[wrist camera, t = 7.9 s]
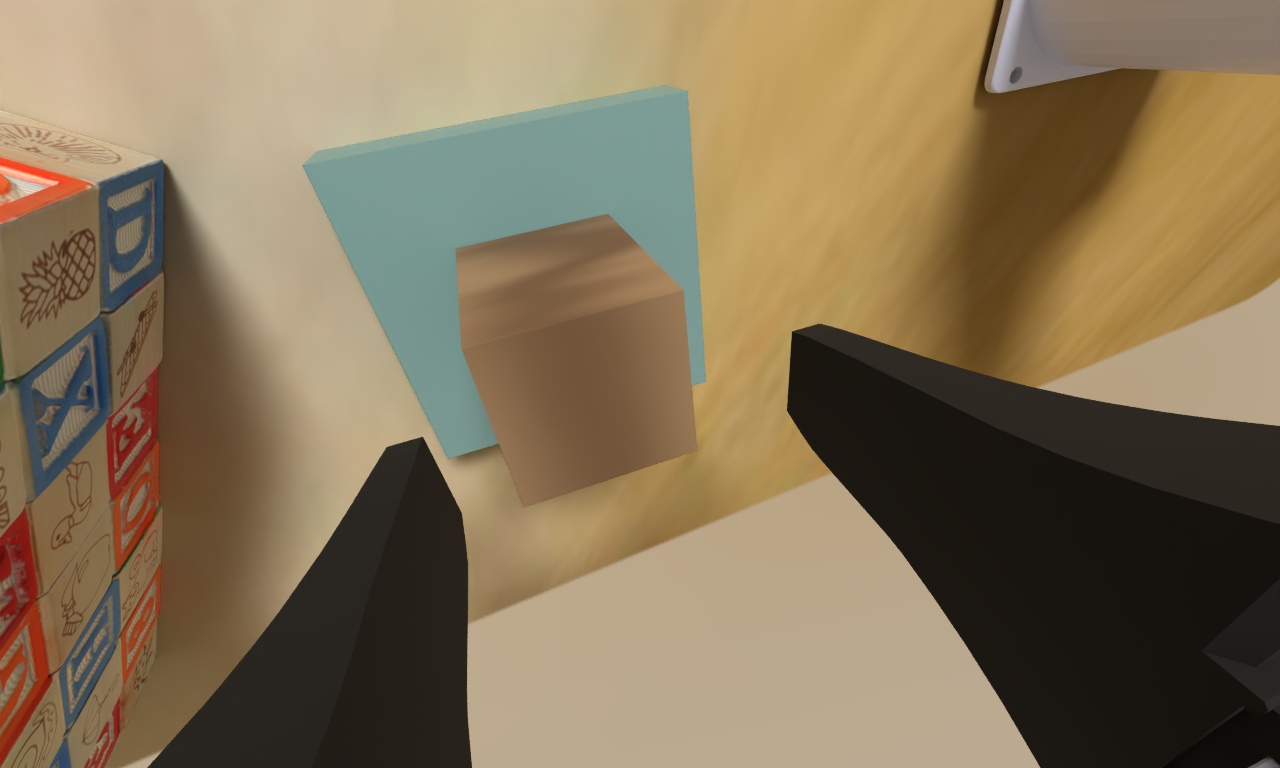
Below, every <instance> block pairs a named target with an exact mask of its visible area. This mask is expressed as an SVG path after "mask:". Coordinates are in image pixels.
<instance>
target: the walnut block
mask: <svg viewBox="0 0 1280 768" xmlns="http://www.w3.org/2000/svg"><path fill="white" fill-rule="evenodd" d="M456 265H457V282H458V299H459V316H460V333H461V349H462V352H463V354H464V357H465V359H466V362H467V364H468V367H469V370H470V372H471V375H472V377H473V380H474V382H475V385H476V387H477V390H478V392H479V395H480V397H481V400H482V403H483V405H484V408H485V410H486V413H487V415H488V418H489V420H490V423H491V425H492V428H493V430H494V433H495V436H496V438H497V441H498V443H499V446H500V448H501V451H502V453H503V456H504V458H505V461H506V463H507V466H508V469H509V471H510V474H511V476H512V479H513V481H514V484H515V486H516V489H517V491H518V494H519V496H520V499H521V502H522V504H523V507H527V506H530V505H533V504H536V503H539V502H542V501H545V500H548V499H551V498H554V497H557V496H560V495H564V494H567V493H570V492H573V491H576V490H579V489H582V488H585V487H588V486H591V485H594V484H597V483H600V482H603V481H606V480H609V479H612V478H615V477H618V476H621V475H624V474H627V473H630V472H634V471H637V470H640V469H643V468H646V467H649V466H652V465H655V464H658V463H661V462H664V461H667V460H670V459H673V458H676V457H679V456H682V455H685V454H688V453H691V452H694V451H697V441H696V430H695V418H694V406H693V394H692V383H691V371H690V359H689V347H688V335H687V324H686V312H685V300H684V290H683V289H682V288H681V287H680V286H679V285H678V284H677V283H676V282H675V281H674V280H673V279H672V278H671V277H670V276H669V275H668V274H667V273H666V272H665V271H664V270H663V269H662V268H661V267H660V266H659V265H658V264H657V263H656V262H655V261H654V260H653V259H652V258H651V257H650V256H649V255H648V254H647V253H646V251H645V250H644V249H643V248H642V247H641V246H640V245H639V244H638V243H637V242H636V241H635V240H634V239H633V238H632V237H631V236H630V235H629V234H628V233H627V232H626V231H625V230H624V229H623V228H622V227H621V226H620V225H619V224H618V223H617V222H616V221H615V220H614V219H613V218H612V217H611V216H610V215H609V214H604V215H600V216H595V217H591V218H587V219H582V220H578V221H574V222H569V223H565V224H561V225H556V226H552V227H547V228H543V229H539V230H534V231H530V232H526V233H521V234H517V235H513V236H508V237H504V238H500V239H495V240H491V241H487V242H482V243H478V244H474V245H469V246H465V247H460V248H456Z"/></svg>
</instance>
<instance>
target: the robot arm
mask: <svg viewBox="0 0 1280 768" xmlns="http://www.w3.org/2000/svg"><path fill="white" fill-rule="evenodd" d="M1120 68H1129V69H1152V70H1176V71H1199V72H1223V73H1246V74H1269V75H1280V0H1004V3H1003V7H1002V11H1001V15H1000V19H999V23H998V27H997V32H996V36H995V40H994V44H993V48H992V52H991V56H990V60H989V64H988V69H987V73H986V77H985V83H984V86H985V89H986V91H987V92H989V93H1004V92H1009V91H1013V90H1018V89H1023V88H1028V87H1033V86H1038V85H1042V84H1047V83H1052V82H1057V81H1062V80H1067V79H1071V78H1076V77H1081V76H1086V75H1091V74H1096V73H1100V72H1105V71H1110V70H1115V69H1120ZM1012 71H1013V74H1012V76H1011V73H1012ZM1010 76H1011V78H1010ZM787 411H788V413H789V415H790V416H791V418H792V419H793V421H794V423H795V424H796V426H797V427H798V429H799V431H800V432H801V434H802V435H803V437H804V438H805V439H806V441H807V442H808V444H809V445H810V447H811V448H812V450H813V451H814V452H815V453H816V454H817V456H818V457H819V458H820V459H821V460H822V461H823V463H824V464H825V465H826V466H827V467H828V468H829V469H830V471H831V472H832V473H833V474H834V475H835V476H836V477H837V479H838V480H839V481H840V482H841V483H842V484H843V485H844V486H845V488H846V489H847V490H848V491H849V492H850V493H851V494H852V496H853V497H854V498H855V499H856V500H857V501H858V502H859V503H860V504H861V506H862V507H863V508H864V509H865V510H866V511H867V513H868V514H869V515H870V516H871V517H872V518H873V519H874V520H875V522H877V524H878V525H879V526H880V527H881V528H882V529H883V531H884V532H885V533H886V534H887V535H888V536H889V537H890V539H891V540H892V541H893V543H894V544H895V545H896V546H897V548H898V549H899V550H900V551H901V553H902V554H903V555H904V557H905V558H906V559H907V561H908V562H909V563H910V565H911V566H912V568H913V569H914V571H915V572H916V573H917V575H918V576H919V578H920V579H921V580H922V582H923V583H924V584H925V586H926V587H927V589H928V590H929V591H930V593H931V594H932V596H933V597H934V599H935V600H936V601H937V603H938V604H939V606H940V607H941V609H942V610H943V612H944V613H945V615H946V616H947V618H948V619H949V621H950V622H951V624H952V625H953V627H954V628H955V630H956V631H957V632H958V634H959V635H960V637H961V638H962V640H963V641H964V643H965V644H966V646H967V647H968V649H969V651H970V652H971V654H972V655H973V657H974V659H975V660H976V661H977V663H978V665H979V666H980V668H981V670H982V671H983V673H984V674H985V676H986V677H987V679H988V681H989V682H990V684H991V685H992V687H993V689H994V690H995V691H996V693H997V695H998V696H999V698H1000V700H1001V701H1002V703H1003V705H1004V706H1005V708H1006V710H1007V711H1008V713H1009V715H1010V716H1011V718H1012V720H1013V721H1014V723H1015V725H1016V727H1017V728H1018V730H1019V732H1020V734H1021V735H1022V737H1023V739H1024V740H1025V742H1026V744H1027V745H1028V747H1029V749H1030V750H1031V752H1032V754H1033V755H1034V757H1035V759H1036V761H1037V762H1038V764H1039V766H1040V768H1280V426H1274V425H1264V424H1256V423H1247V422H1238V421H1229V420H1220V419H1211V418H1203V417H1195V416H1189V415H1181V414H1174V413H1166V412H1160V411H1154V410H1148V409H1141V408H1136V407H1130V406H1123V405H1117V404H1111V403H1106V402H1100V401H1095V400H1090V399H1084V398H1079V397H1074V396H1070V395H1065V394H1061V393H1056V392H1051V391H1047V390H1043V389H1038V388H1034V387H1029V386H1025V385H1021V384H1017V383H1013V382H1009V381H1005V380H1001V379H998V378H994V377H990V376H987V375H983V374H980V373H976V372H973V371H969V370H966V369H962V368H959V367H955V366H952V365H949V364H946V363H942V362H939V361H936V360H933V359H930V358H927V357H923V356H920V355H917V354H914V353H911V352H908V351H905V350H902V349H899V348H896V347H893V346H890V345H887V344H884V343H881V342H878V341H875V340H872V339H869V338H866V337H863V336H860V335H857V334H854V333H851V332H848V331H845V330H841V329H838V328H834V327H831V326H827V325H823V324H817V325H813V326H810V327H806V328H803V329H799V330H796V331H792V341H791V357H790V372H789V388H788V404H787ZM467 629H468V560H467V551H466V542H465V534H464V527H463V519H462V513H461V511H460V509H459V507H458V505H457V503H456V501H455V499H454V497H453V495H452V493H451V491H450V489H449V487H448V485H447V483H446V481H445V479H444V477H443V475H442V473H441V471H440V469H439V468H438V466H437V464H436V462H435V460H434V458H433V456H432V454H431V452H430V450H429V448H428V446H427V444H426V442H425V440H424V438H423V437H420V438H417V439H413V440H410V441H406V442H403V443H399V444H396V445H392V446H389V447H387V448H386V449H385V451H384V453H383V454H382V456H381V457H380V459H379V460H378V462H377V464H376V465H375V467H374V469H373V470H372V472H371V473H370V475H369V477H368V478H367V480H366V482H365V483H364V485H363V486H362V488H361V490H360V491H359V493H358V495H357V496H356V498H355V500H354V501H353V503H352V504H351V506H350V508H349V509H348V511H347V513H346V514H345V516H344V517H343V519H342V520H341V522H340V524H339V525H338V527H337V528H336V530H335V531H334V533H333V535H332V536H331V538H330V539H329V541H328V542H327V544H326V545H325V547H324V549H323V550H322V552H321V553H320V555H319V556H318V557H317V559H316V560H315V562H314V563H313V565H312V566H311V567H310V569H309V570H308V572H307V573H306V574H305V576H304V577H303V579H302V580H301V582H300V583H299V584H298V586H297V587H296V589H295V590H294V592H293V593H292V594H291V596H290V597H289V599H288V600H287V602H286V603H285V604H284V606H283V607H282V609H281V610H280V611H279V613H278V614H277V615H276V617H275V618H274V619H273V621H272V622H271V623H270V625H269V626H268V627H267V629H266V630H265V631H264V632H263V634H262V635H261V636H260V638H259V639H258V640H257V641H256V643H255V644H254V645H253V647H252V648H251V649H250V650H249V651H248V653H247V654H246V655H245V656H244V658H243V659H242V660H241V661H240V662H239V664H238V665H237V666H236V667H235V669H234V670H233V671H232V672H231V673H230V675H229V676H228V677H227V678H226V680H225V681H224V682H223V683H222V684H221V686H220V687H219V688H218V689H217V690H216V692H215V693H214V694H213V695H212V696H211V697H210V699H209V700H208V701H207V702H206V703H205V704H204V706H203V707H202V708H201V709H200V710H199V711H198V712H197V713H196V714H195V716H194V717H193V718H192V719H191V720H190V721H189V722H188V723H187V724H186V726H185V727H184V728H183V729H182V730H181V731H180V732H179V733H178V734H177V735H176V737H175V738H174V739H173V740H172V741H171V742H170V743H169V744H168V745H167V747H166V748H165V749H164V750H163V751H162V752H161V753H160V754H159V755H158V757H157V758H156V759H155V760H154V761H153V762H152V763H151V765H150V766H149V767H148V768H472V762H471V752H470V740H469V728H468V712H467V633H468V631H467Z"/></svg>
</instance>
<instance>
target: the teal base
mask: <svg viewBox="0 0 1280 768" xmlns="http://www.w3.org/2000/svg"><path fill="white" fill-rule="evenodd" d="M302 166H303V168H304V170H305V172H306V174H307V176H308V178H309V180H310V182H311V184H312V186H313V188H314V190H315V192H316V194H317V196H318V198H319V200H320V202H321V204H322V206H323V208H324V210H325V212H326V214H327V216H328V218H329V221H330V223H331V225H332V227H333V229H334V231H335V233H336V235H337V237H338V239H339V241H340V243H341V245H342V247H343V249H344V251H345V253H346V255H347V257H348V259H349V261H350V263H351V265H352V267H353V269H354V271H355V273H356V275H357V277H358V279H359V281H360V283H361V285H362V287H363V289H364V291H365V293H366V295H367V297H368V299H369V301H370V303H371V305H372V307H373V309H374V311H375V313H376V315H377V317H378V319H379V321H380V323H381V325H382V327H383V329H384V331H385V333H386V335H387V337H388V339H389V341H390V343H391V345H392V347H393V349H394V351H395V353H396V355H397V357H398V359H399V361H400V363H401V365H402V367H403V369H404V371H405V373H406V375H407V378H408V380H409V382H410V384H411V386H412V388H413V390H414V392H415V394H416V396H417V398H418V400H419V402H420V404H421V406H422V408H423V410H424V412H425V414H426V416H427V418H428V420H429V422H430V424H431V426H432V428H433V430H434V432H435V434H436V436H437V438H438V440H439V442H440V444H441V446H442V448H443V450H444V452H445V454H446V456H447V458H448V459H449V458H453V457H456V456H459V455H463V454H466V453H469V452H473V451H476V450H479V449H483V448H486V447H489V446H493V445H496V444H499V443H498V441H497V438H496V436H495V433H494V430H493V428H492V425H491V423H490V420H489V418H488V415H487V413H486V410H485V408H484V405H483V403H482V400H481V397H480V395H479V392H478V390H477V387H476V385H475V382H474V380H473V377H472V375H471V372H470V370H469V367H468V364H467V362H466V359H465V357H464V354H463V352H462V349H461V333H460V316H459V299H458V282H457V265H456V248H460V247H465V246H469V245H474V244H478V243H482V242H487V241H491V240H495V239H500V238H504V237H508V236H513V235H517V234H521V233H526V232H530V231H534V230H539V229H543V228H547V227H552V226H556V225H561V224H565V223H569V222H574V221H578V220H582V219H587V218H591V217H595V216H600V215H604V214H609V215H610V216H611V217H612V218H613V219H614V220H615V221H616V222H617V223H618V224H619V225H620V226H621V227H622V228H623V229H624V230H625V231H626V232H627V233H628V234H629V235H630V236H631V237H632V238H633V239H634V240H635V241H636V242H637V243H638V244H639V245H640V246H641V247H642V248H643V249H644V250H645V251H646V253H647V254H648V255H649V256H650V257H651V258H652V259H653V260H654V261H655V262H656V263H657V264H658V265H659V266H660V267H661V268H662V269H663V270H664V271H665V272H666V273H667V274H668V275H669V276H670V277H671V278H672V279H673V280H674V281H675V282H676V283H677V284H678V285H679V286H680V287H681V288H682V289H683V290H684V300H685V312H686V324H687V335H688V347H689V359H690V371H691V383H692V385H696V384H699V383H702V382H706V374H705V358H704V342H703V326H702V310H701V294H700V278H699V262H698V246H697V230H696V215H695V199H694V183H693V167H692V151H691V135H690V119H689V103H688V91H687V90H682V89H678V88H673V87H669V86H665V85H663V86H658V87H653V88H648V89H642V90H637V91H632V92H627V93H621V94H616V95H611V96H606V97H600V98H595V99H590V100H584V101H579V102H574V103H569V104H563V105H558V106H553V107H548V108H542V109H537V110H532V111H527V112H521V113H516V114H511V115H506V116H500V117H495V118H490V119H484V120H479V121H474V122H469V123H463V124H458V125H453V126H448V127H442V128H437V129H432V130H427V131H421V132H416V133H411V134H406V135H400V136H395V137H390V138H384V139H379V140H374V141H369V142H363V143H358V144H353V145H348V146H342V147H337V148H332V149H327V150H321V151H317V152H316V153H315V154H314V155H313V156H312V157H311V158H310V159H309V160H307V161H306V162H305V163H304V164H303V165H302Z"/></svg>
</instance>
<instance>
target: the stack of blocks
mask: <svg viewBox="0 0 1280 768" xmlns="http://www.w3.org/2000/svg"><path fill="white" fill-rule="evenodd" d="M163 250H164V165H163V160H161V159H159V158H157V157H154V156H151V155H147V154H144V153H140V152H136V151H133V150H129V149H126V148H123V147H120V146H117V145H114V144H110V143H107V142H104V141H100V140H97V139H94V138H90V137H87V136H84V135H80V134H77V133H73V132H70V131H67V130H64V129H60V128H57V127H54V126H51V125H47V124H44V123H41V122H38V121H34V120H31V119H28V118H25V117H22V116H18V115H15V114H12V113H9V112H5V111H0V768H104V767H105V765H106V763H107V760H108V758H109V756H110V754H111V752H112V750H113V747H114V745H115V743H116V741H117V738H118V736H119V733H120V732H122V731H123V730H124V729H125V728H126V726H127V724H128V721H129V719H130V717H131V714H132V712H133V710H134V707H135V705H136V703H137V700H138V698H139V696H140V693H141V691H142V689H143V687H144V684H145V682H146V679H147V677H148V675H149V672H150V670H151V668H152V665H153V663H154V661H155V658H156V635H157V617H158V615H159V612H160V590H161V564H160V563H161V554H162V532H163V510H162V506H161V505H160V504H159V503H158V497H159V481H158V477H159V441H158V439H157V438H156V435H157V419H158V393H157V390H158V364H159V363H160V362H161V360H162V358H163V321H164V274H163V270H162V262H163Z"/></svg>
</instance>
